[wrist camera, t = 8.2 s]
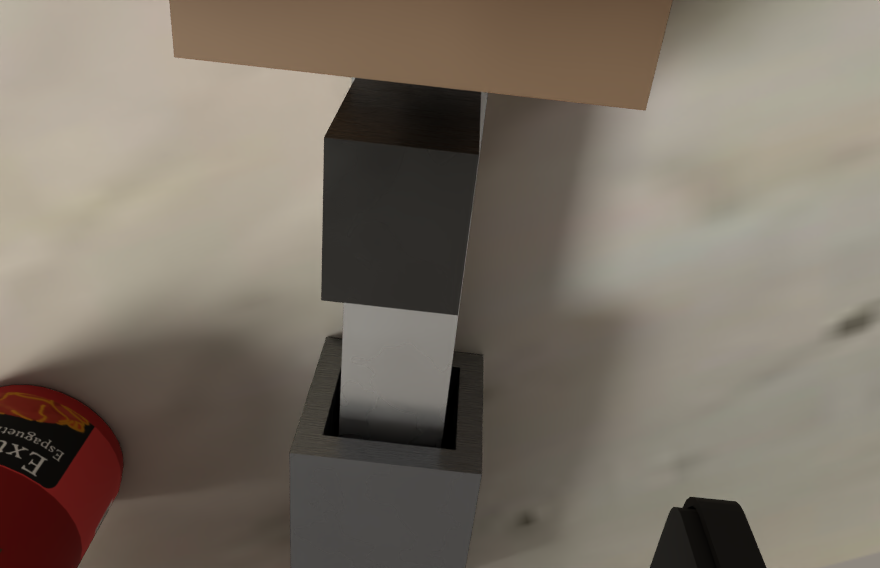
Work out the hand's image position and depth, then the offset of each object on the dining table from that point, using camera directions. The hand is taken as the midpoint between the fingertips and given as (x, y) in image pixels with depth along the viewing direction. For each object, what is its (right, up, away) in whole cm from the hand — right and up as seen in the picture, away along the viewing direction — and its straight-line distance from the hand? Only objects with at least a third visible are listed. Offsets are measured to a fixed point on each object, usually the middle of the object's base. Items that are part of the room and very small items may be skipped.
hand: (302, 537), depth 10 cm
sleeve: (0, -5, +25) cm, 25 cm away
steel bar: (+1, +5, +17) cm, 17 cm away
